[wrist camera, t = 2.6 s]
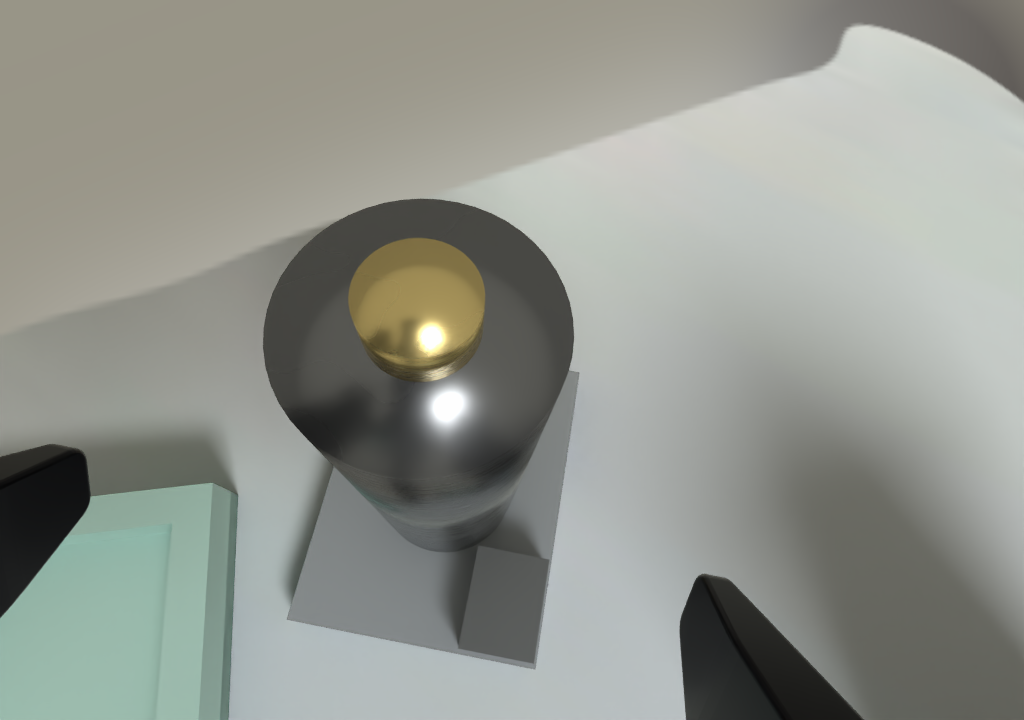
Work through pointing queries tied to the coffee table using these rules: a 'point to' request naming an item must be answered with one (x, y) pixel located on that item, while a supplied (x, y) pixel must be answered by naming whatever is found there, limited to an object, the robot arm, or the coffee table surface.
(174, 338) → the coffee table surface
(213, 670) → the trough
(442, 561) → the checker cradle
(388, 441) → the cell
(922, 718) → the coffee table surface
